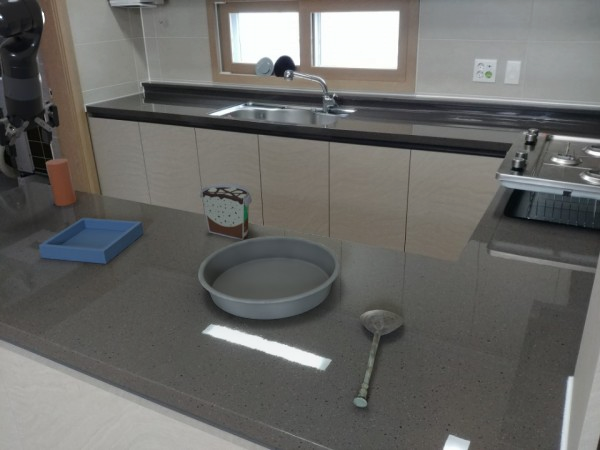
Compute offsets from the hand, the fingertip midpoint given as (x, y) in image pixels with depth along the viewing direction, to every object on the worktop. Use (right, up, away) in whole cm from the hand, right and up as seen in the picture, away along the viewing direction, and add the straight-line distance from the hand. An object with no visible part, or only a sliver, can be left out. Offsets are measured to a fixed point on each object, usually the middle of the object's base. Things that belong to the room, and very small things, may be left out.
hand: (30, 148), depth 125 cm
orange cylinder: (+2, -12, +13) cm, 18 cm away
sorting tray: (+20, -22, -12) cm, 32 cm away
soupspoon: (+73, -36, -49) cm, 96 cm away
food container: (+49, -19, -7) cm, 53 cm away
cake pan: (+58, -29, -30) cm, 71 cm away
